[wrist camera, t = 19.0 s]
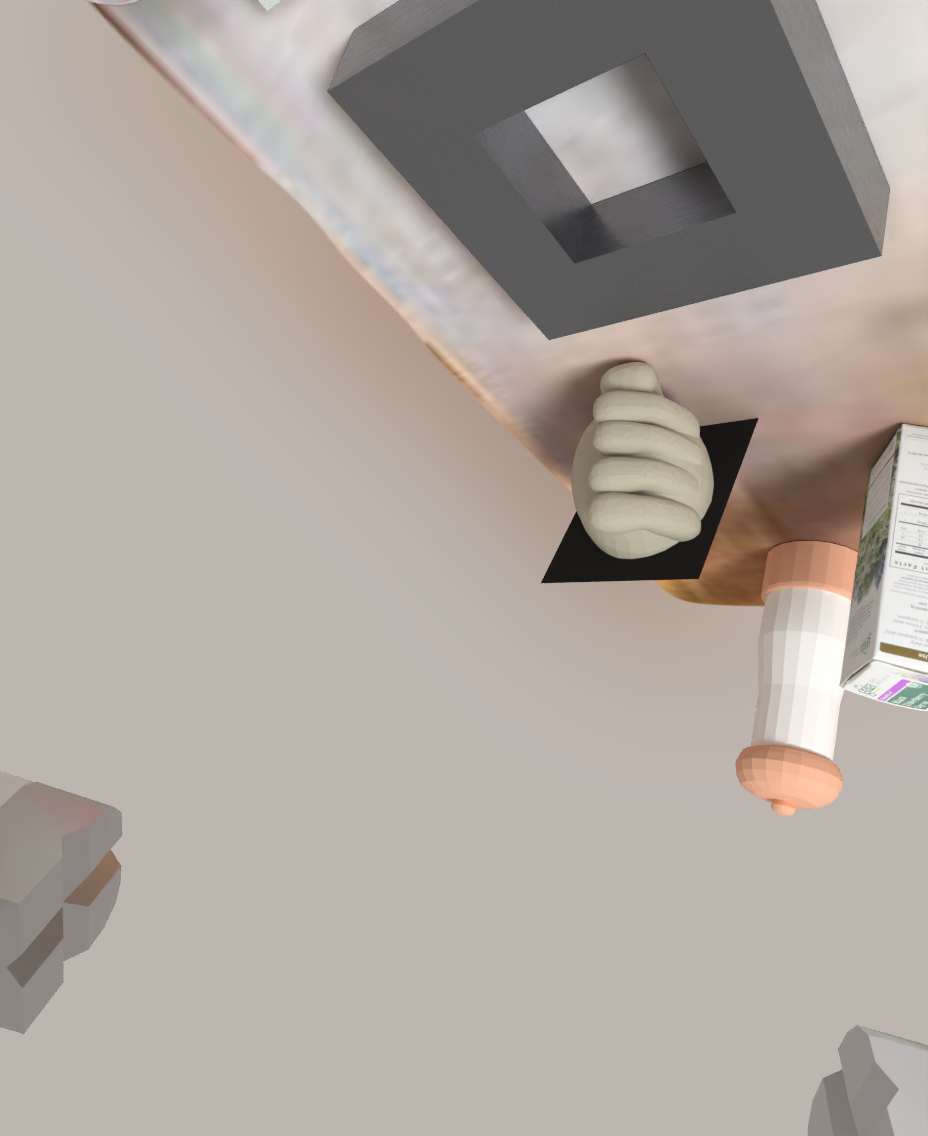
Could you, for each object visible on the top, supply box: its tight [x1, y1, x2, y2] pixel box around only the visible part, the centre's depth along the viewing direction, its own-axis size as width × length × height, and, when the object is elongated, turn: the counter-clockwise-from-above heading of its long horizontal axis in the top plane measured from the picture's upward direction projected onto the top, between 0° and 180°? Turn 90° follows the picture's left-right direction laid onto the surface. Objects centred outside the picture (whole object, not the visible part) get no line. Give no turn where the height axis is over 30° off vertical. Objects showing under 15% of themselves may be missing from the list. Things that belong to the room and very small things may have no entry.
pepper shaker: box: [736, 541, 858, 816], centre depth 64 cm, size 7×7×19 cm
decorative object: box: [541, 362, 758, 583], centre depth 51 cm, size 13×10×10 cm
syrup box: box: [839, 424, 928, 711], centre depth 49 cm, size 6×6×14 cm
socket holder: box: [328, 0, 890, 340], centre depth 35 cm, size 16×16×4 cm
